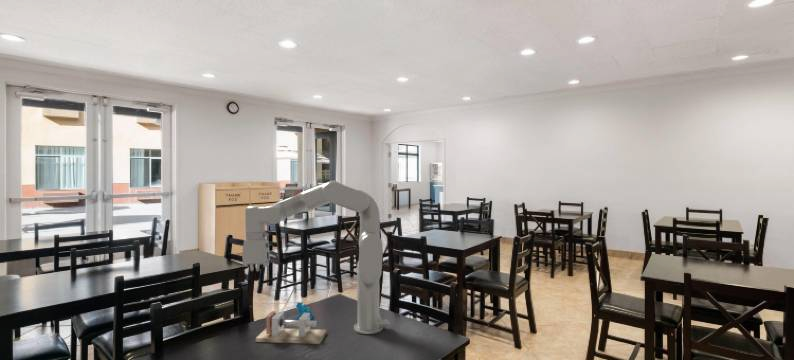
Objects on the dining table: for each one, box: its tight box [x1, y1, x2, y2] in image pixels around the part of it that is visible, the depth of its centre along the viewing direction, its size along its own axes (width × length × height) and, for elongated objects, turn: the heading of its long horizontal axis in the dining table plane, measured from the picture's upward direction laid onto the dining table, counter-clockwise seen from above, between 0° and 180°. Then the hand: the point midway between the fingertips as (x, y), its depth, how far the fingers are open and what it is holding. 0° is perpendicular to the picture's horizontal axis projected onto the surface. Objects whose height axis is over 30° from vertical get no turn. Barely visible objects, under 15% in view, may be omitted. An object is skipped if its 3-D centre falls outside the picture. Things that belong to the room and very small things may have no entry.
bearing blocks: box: [272, 311, 311, 338], centre depth 160 cm, size 14×7×8 cm, turn 86°
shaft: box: [265, 310, 318, 334], centre depth 160 cm, size 20×6×7 cm, turn 86°
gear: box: [295, 301, 314, 321], centre depth 180 cm, size 11×6×10 cm
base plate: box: [255, 327, 327, 345], centre depth 160 cm, size 26×10×2 cm, turn 86°
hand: (256, 280), depth 161 cm, fingers closed
